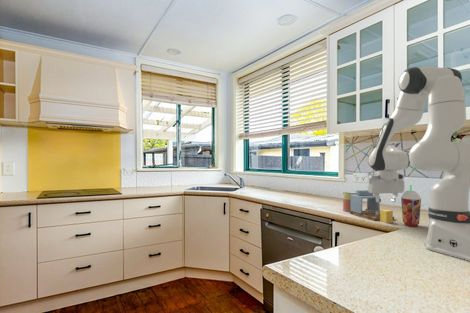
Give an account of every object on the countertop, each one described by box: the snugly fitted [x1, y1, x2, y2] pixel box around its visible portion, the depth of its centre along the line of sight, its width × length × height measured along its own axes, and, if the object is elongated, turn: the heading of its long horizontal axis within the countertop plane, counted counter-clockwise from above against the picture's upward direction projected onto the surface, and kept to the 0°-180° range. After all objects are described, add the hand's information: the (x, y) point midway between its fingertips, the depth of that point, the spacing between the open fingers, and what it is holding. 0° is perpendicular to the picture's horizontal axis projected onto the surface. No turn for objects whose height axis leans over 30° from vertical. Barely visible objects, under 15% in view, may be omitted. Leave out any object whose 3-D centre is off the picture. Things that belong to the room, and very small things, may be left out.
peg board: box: [349, 208, 395, 222], centre depth 152 cm, size 19×13×4 cm
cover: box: [351, 189, 381, 214], centre depth 157 cm, size 9×13×12 cm
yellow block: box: [379, 209, 394, 224], centre depth 139 cm, size 4×4×6 cm
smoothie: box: [400, 184, 422, 228], centre depth 132 cm, size 8×8×20 cm
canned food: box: [342, 190, 356, 213], centre depth 169 cm, size 11×11×12 cm
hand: (385, 201), depth 140 cm, fingers open, 8 cm apart
